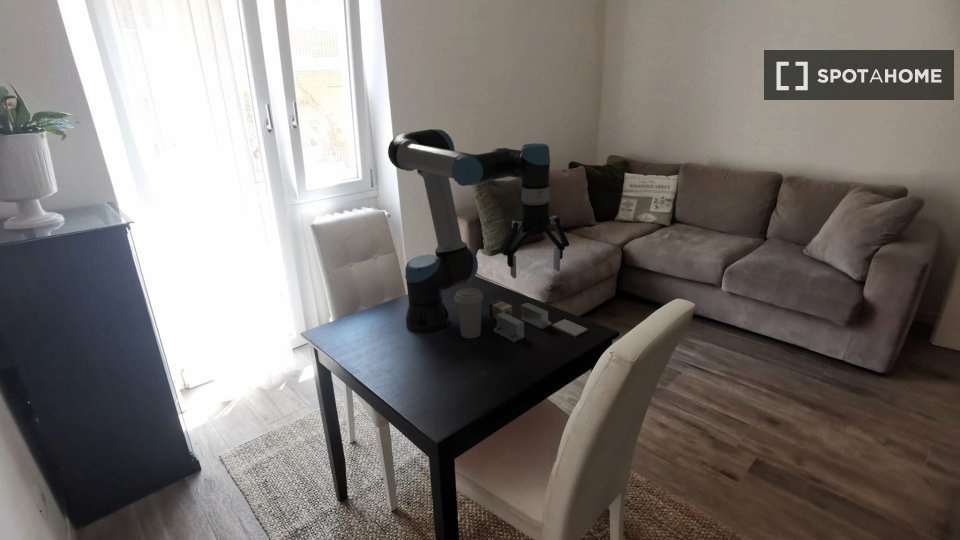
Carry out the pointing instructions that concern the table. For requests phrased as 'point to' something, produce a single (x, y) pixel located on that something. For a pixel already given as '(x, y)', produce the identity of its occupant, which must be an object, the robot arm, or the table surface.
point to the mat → (570, 327)
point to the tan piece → (499, 308)
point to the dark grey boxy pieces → (521, 322)
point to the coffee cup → (469, 311)
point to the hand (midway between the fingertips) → (535, 273)
